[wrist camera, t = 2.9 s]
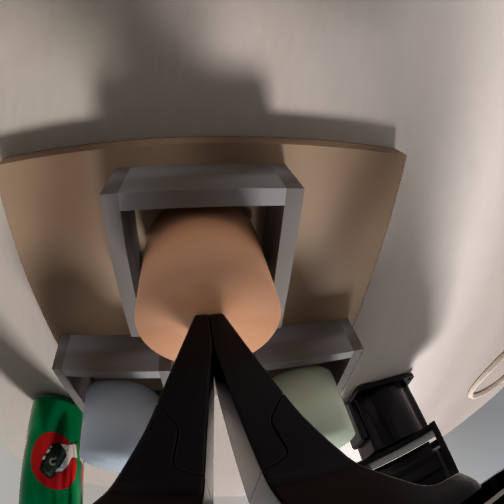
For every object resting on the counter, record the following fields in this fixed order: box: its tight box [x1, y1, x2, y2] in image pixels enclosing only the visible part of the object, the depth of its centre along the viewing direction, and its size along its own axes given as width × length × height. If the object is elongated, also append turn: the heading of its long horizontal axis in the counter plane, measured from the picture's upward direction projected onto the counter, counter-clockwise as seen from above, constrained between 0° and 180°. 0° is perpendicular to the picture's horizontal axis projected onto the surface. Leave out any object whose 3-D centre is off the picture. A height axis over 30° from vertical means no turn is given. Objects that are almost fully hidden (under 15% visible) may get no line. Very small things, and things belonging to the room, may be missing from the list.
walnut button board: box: [0, 136, 406, 413], centre depth 15 cm, size 18×16×3 cm
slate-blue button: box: [79, 379, 159, 473], centre depth 14 cm, size 4×4×4 cm
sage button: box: [272, 366, 355, 448], centre depth 16 cm, size 4×4×4 cm
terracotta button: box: [134, 206, 281, 361], centre depth 11 cm, size 4×4×4 cm
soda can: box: [19, 394, 84, 504], centre depth 16 cm, size 5×5×12 cm
